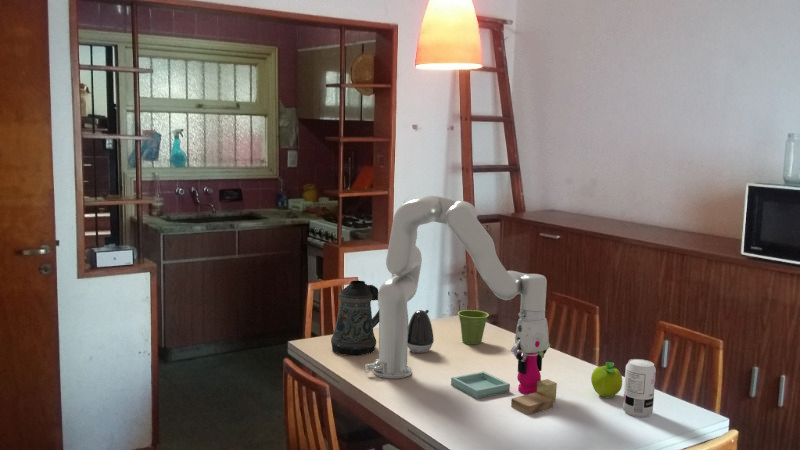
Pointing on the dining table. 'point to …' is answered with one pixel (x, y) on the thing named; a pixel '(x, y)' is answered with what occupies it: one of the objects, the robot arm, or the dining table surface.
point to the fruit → (606, 380)
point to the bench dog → (547, 389)
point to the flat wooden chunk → (532, 403)
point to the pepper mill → (530, 374)
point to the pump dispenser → (420, 332)
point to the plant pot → (472, 325)
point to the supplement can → (639, 388)
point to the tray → (480, 384)
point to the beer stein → (355, 320)
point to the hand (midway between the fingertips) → (529, 370)
